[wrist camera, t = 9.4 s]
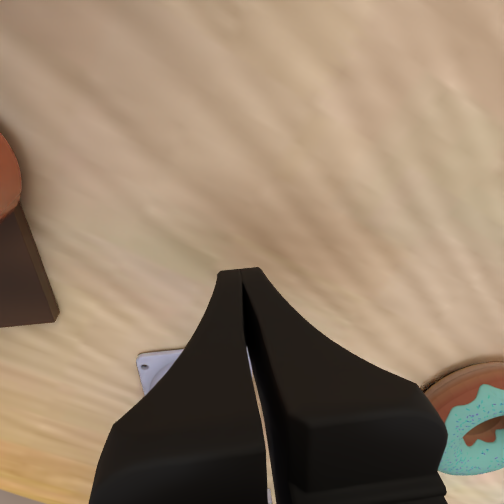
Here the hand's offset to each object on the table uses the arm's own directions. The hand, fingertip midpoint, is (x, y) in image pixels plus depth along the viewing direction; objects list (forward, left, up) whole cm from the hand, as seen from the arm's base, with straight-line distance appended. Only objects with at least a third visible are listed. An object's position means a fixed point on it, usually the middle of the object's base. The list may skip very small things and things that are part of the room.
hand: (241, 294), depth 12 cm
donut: (-22, -20, -11) cm, 31 cm away
